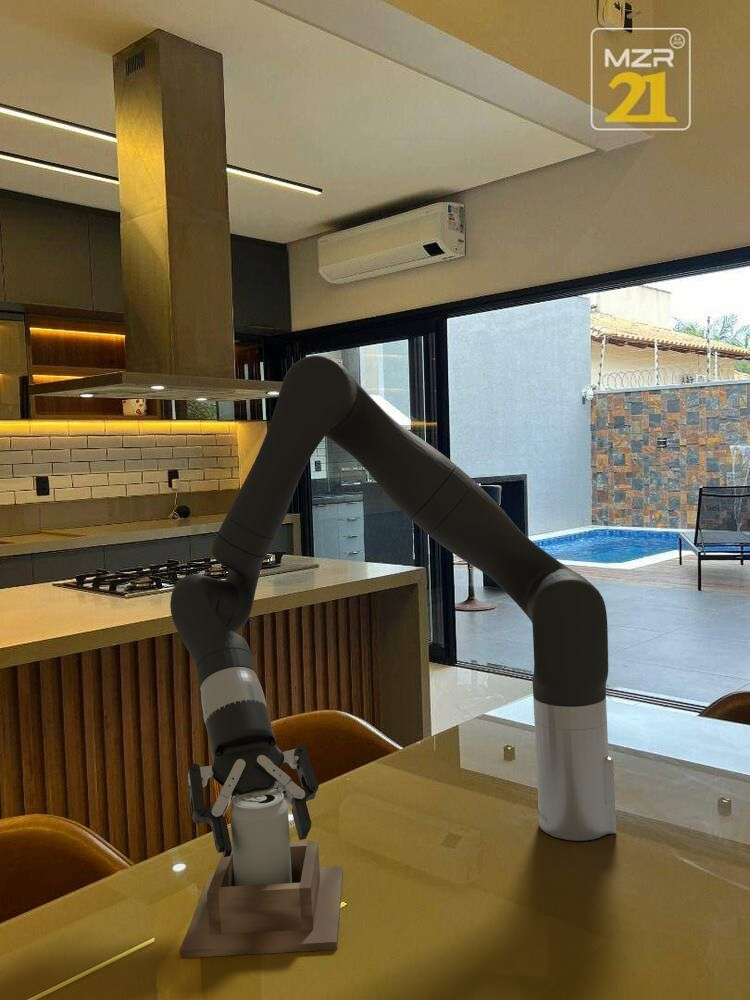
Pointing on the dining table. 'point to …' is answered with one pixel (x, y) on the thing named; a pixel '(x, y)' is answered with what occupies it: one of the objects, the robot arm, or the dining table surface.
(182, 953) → the well
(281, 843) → the beverage can
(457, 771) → the dining table surface
